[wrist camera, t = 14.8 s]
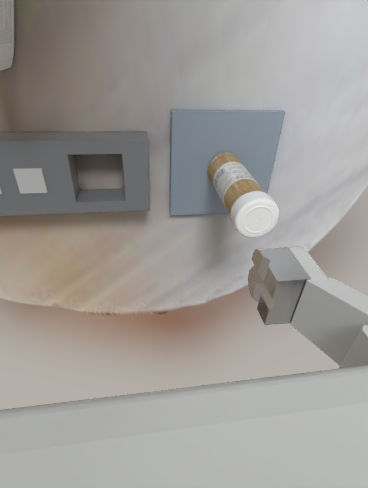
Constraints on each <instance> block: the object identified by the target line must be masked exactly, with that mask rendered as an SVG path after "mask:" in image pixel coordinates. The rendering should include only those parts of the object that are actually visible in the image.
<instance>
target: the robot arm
mask: <svg viewBox="0 0 368 488" xmlns="http://www.w3.org/2000/svg"><path fill="white" fill-rule="evenodd" d="M252 261H253V263H254V266H253V267H252V268H251V269H250V270H249V276H248V287H249V290H250V294H251V296H252V298H253V299H255V300H256V301H257V302H259V303H258V308H257V309H258V311H259V313H260V316H261V318H262V320H263V322H264V324H265V325H270V324H285V323H291V325H292V326H293V327H294V328H295V329H297V330H298V331H299V332H300V333H301V334H303V335H304V336H305V337H306V338H307V339H309V340H310V341H311V342H312V343H313V344H315V345H316V346H317V347H318V348H319V349H320V350H322V351H323V352H324V353H325V354H326V355H328V356H329V357H330V358H331V359H332V360H334V361H335V362H336V363H337V364H338V365H340V367H339V369H332V370H324V371H316V372H308V373H300V374H291V375H283V376H276V377H267V378H258V379H251V380H242V381H235V382H226V383H218V384H210V385H202V386H194V387H186V388H177V389H169V390H161V391H153V392H144V393H137V394H128V395H120V396H111V397H104V398H95V399H87V400H78V401H71V402H62V403H53V404H45V405H37V406H30V407H20V408H13V409H4V410H0V488H368V296H366V295H364V294H362V293H360V292H358V291H356V290H355V289H353V288H351V287H349V286H347V285H345V284H343V283H341V282H339V281H337V280H335V279H333V278H327V277H326V275H325V274H324V273H323V271H322V270H321V269H320V268H319V267H318V265H317V264H316V263H315V261H314V260H313V259H312V258H311V256H310V255H309V254H308V252H307V251H306V250H305V249H304V248H303V247H301V246H292V247H285V248H270V249H255V251H254V253H253V256H252Z"/></svg>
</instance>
